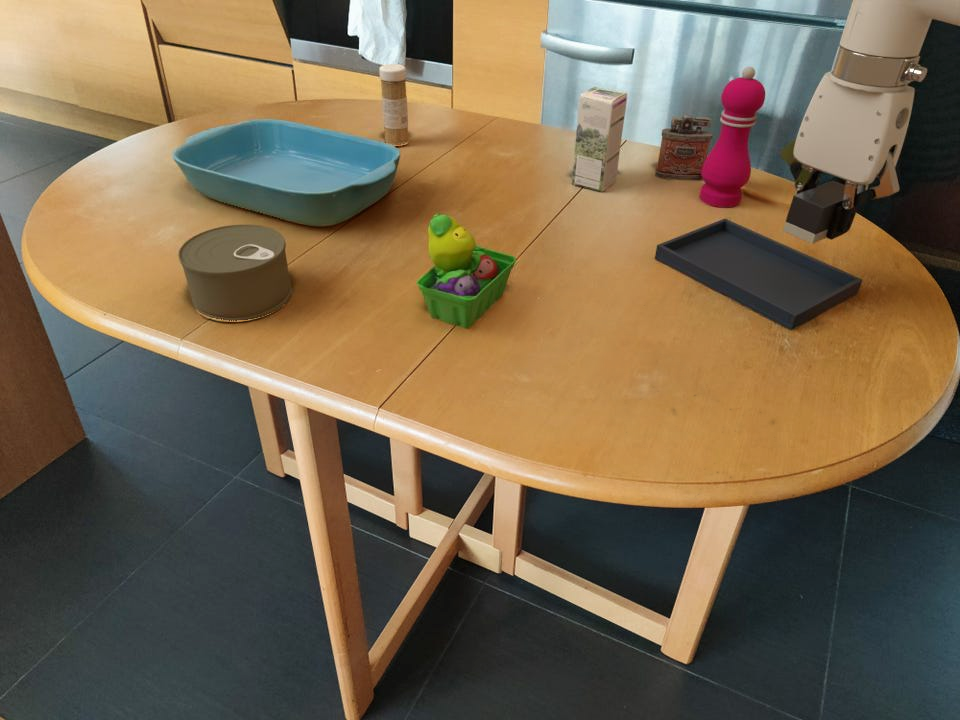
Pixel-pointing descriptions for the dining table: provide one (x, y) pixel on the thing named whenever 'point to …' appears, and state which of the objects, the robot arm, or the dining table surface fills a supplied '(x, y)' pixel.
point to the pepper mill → (732, 142)
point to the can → (236, 271)
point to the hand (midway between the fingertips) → (817, 226)
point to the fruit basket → (461, 274)
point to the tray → (759, 272)
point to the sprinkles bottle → (394, 103)
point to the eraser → (814, 211)
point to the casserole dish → (289, 169)
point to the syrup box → (598, 138)
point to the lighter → (684, 149)
